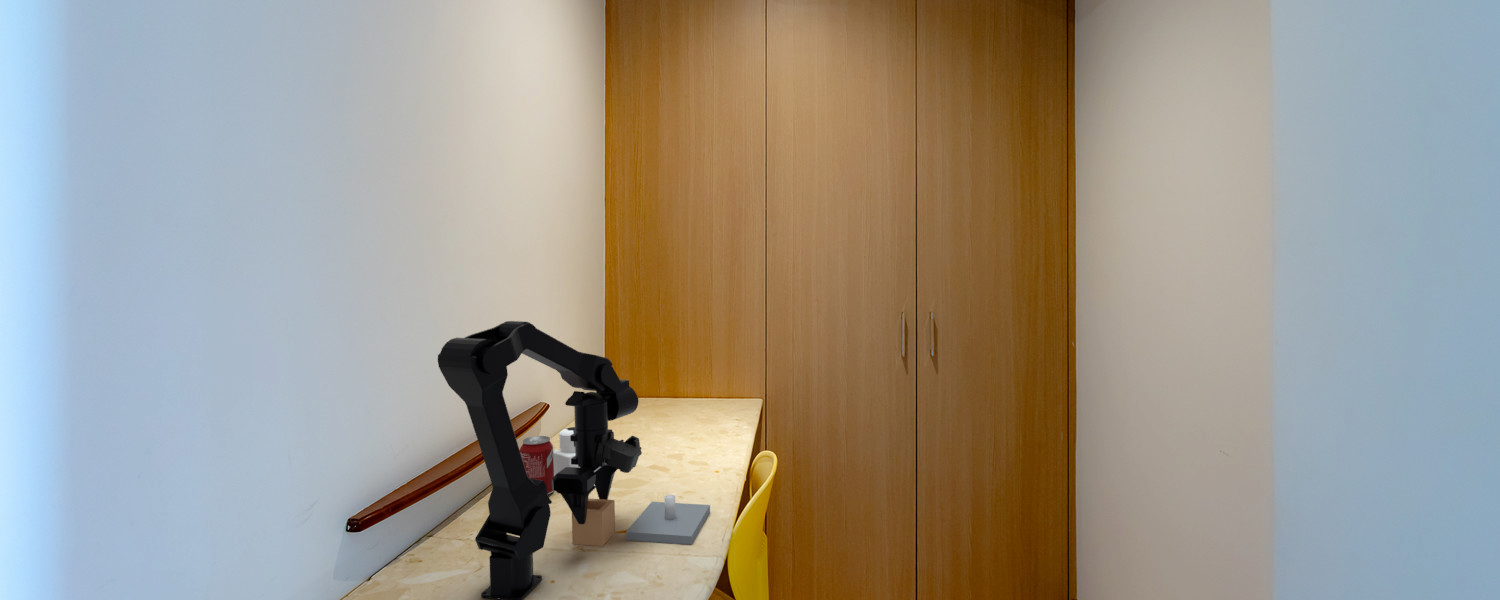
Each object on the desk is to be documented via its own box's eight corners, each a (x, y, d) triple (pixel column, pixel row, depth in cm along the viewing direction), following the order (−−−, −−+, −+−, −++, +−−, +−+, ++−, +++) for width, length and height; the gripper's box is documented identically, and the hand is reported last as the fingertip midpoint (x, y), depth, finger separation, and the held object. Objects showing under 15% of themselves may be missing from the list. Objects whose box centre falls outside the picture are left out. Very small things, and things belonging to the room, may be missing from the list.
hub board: (691, 544, 103) (691, 513, 103) (626, 540, 105) (625, 509, 105) (710, 512, 117) (709, 485, 117) (651, 508, 119) (651, 482, 119)
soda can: (543, 501, 123) (542, 444, 123) (514, 499, 125) (512, 443, 124) (560, 489, 130) (558, 435, 129) (532, 487, 131) (530, 434, 131)
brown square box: (602, 546, 103) (601, 512, 103) (572, 544, 104) (571, 510, 104) (615, 532, 109) (614, 500, 108) (586, 530, 109) (585, 498, 109)
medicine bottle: (578, 473, 141) (577, 423, 140) (596, 479, 136) (595, 428, 136) (551, 481, 135) (550, 429, 135) (569, 488, 131) (568, 435, 130)
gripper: (614, 443, 95) (615, 539, 95) (652, 415, 113) (653, 496, 114) (549, 441, 97) (551, 534, 97) (597, 413, 115) (598, 493, 116)
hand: (593, 513), depth 106 cm, fingers open, 9 cm apart
